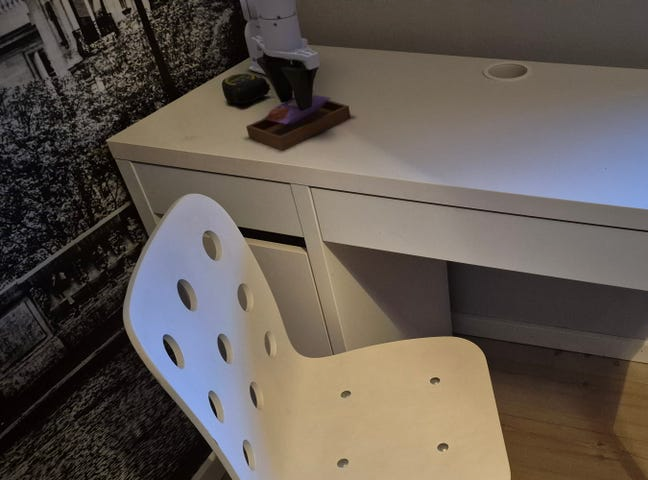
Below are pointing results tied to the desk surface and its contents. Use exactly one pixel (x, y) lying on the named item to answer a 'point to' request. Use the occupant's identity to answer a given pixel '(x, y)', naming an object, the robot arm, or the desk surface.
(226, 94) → the tape measure
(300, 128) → the tray
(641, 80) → the desk surface
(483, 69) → the desk surface
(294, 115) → the snack package
